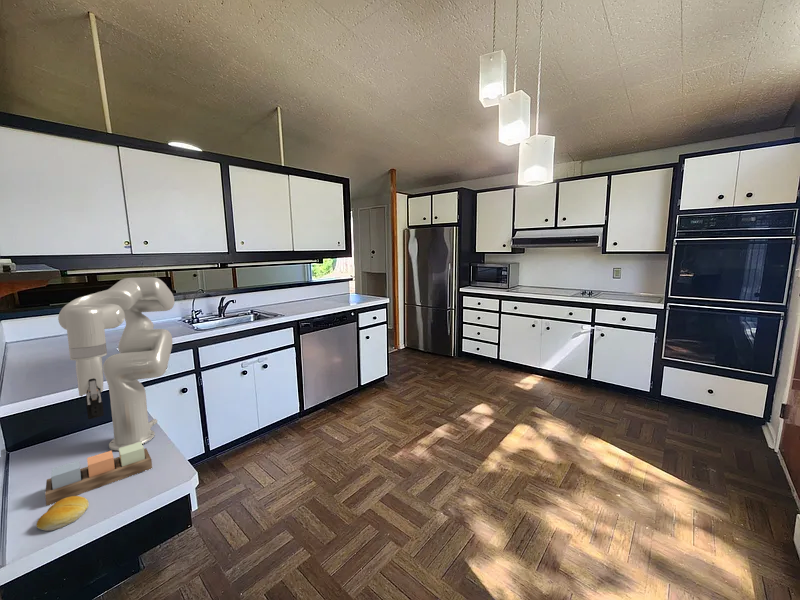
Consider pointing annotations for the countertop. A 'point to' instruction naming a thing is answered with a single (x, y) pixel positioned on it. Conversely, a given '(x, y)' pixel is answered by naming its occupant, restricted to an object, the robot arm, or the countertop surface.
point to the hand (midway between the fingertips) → (95, 412)
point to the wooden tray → (96, 479)
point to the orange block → (100, 463)
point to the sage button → (131, 454)
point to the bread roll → (63, 513)
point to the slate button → (66, 474)
